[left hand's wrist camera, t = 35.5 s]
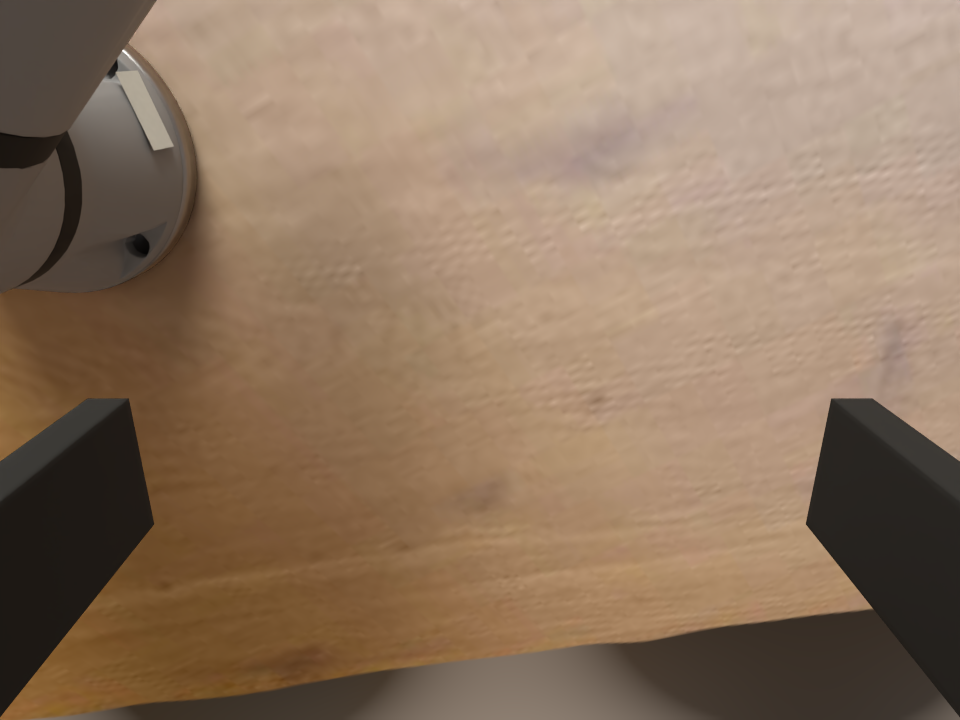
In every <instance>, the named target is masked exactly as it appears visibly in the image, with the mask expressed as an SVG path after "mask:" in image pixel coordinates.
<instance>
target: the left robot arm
mask: <svg viewBox="0 0 960 720" xmlns="http://www.w3.org/2000/svg"><path fill="white" fill-rule="evenodd" d="M155 2H156V0H0V294H1V293H3V292H6V291H8V290H10V289H13V288H16V289H27V290H39V291H51V292H67V293H79V292H91V291H98V290H102V289H106V288H110V287H113V286H116V285H118V284H121V283H123V282H126V281H128V280H130V279H132V278H134V277H136V276H138V275H140V274H142V273H144V272H146V271H147V270H149V269H150V268H152V267H154V266H155V265H156V264H157V263H159V262H160V261H161V260H162V259H163V258H164V257H165V256H166V255H167V254H168V253H169V252H170V251H171V250H172V249H173V247H174V246H175V245H176V243H177V242H178V241H179V239H180V237H181V236H182V234H183V232H184V230H185V228H186V226H187V224H188V221H189V219H190V215H191V212H192V209H193V205H194V200H195V194H196V183H197V176H196V160H195V153H194V148H193V143H192V139H191V136H190V132H189V129H188V126H187V124H186V121H185V118H184V116H183V114H182V112H181V109H180V107H179V105H178V103H177V101H176V100H175V98H174V96H173V95H172V93H171V91H170V89H169V88H168V87H167V85H166V84H165V82H164V81H163V79H162V78H161V77H160V75H159V74H158V73H157V72H156V71H155V69H154V68H153V67H152V66H151V65H150V64H149V63H148V62H147V61H146V60H145V59H144V58H143V57H142V56H141V55H140V54H139V53H138V52H137V51H136V50H135V49H134V48H132V47H131V46H130V45H129V44H128V42H129V40H130V39H131V37H132V36H133V34H134V33H135V32H136V30H137V29H138V27H139V26H140V24H141V23H142V21H143V20H144V18H145V17H146V15H147V14H148V12H149V11H150V9H151V8H152V6H153V5H154V3H155ZM153 525H154V521H153V516H152V511H151V506H150V501H149V496H148V491H147V487H146V482H145V477H144V472H143V467H142V462H141V457H140V452H139V447H138V442H137V437H136V432H135V427H134V422H133V417H132V413H131V408H130V403H129V399H86V400H85V401H84V402H82V403H81V404H79V405H78V406H77V407H75V408H74V409H73V410H71V411H70V412H68V413H67V414H66V415H64V416H63V417H61V418H60V419H59V420H57V421H56V422H54V423H53V424H52V425H50V426H49V427H48V428H46V429H45V430H43V431H42V432H41V433H39V434H38V435H36V436H35V437H34V438H32V439H31V440H30V441H28V442H27V443H25V444H24V445H23V446H21V447H20V448H18V449H17V450H16V451H14V452H13V453H11V454H10V455H9V456H7V457H6V458H5V459H3V460H2V461H0V717H1V715H2V714H3V713H4V712H5V710H6V709H7V708H8V707H9V705H10V704H11V703H12V702H13V700H14V699H15V698H16V697H17V695H18V694H19V693H20V692H21V690H22V689H23V688H24V687H25V685H26V684H27V683H28V682H29V680H30V679H31V678H32V677H33V675H34V674H35V673H36V672H37V670H38V669H39V668H40V667H41V665H42V664H43V663H44V661H45V660H46V659H47V658H48V656H49V655H50V654H51V653H52V651H53V650H54V649H55V648H56V646H57V645H58V644H59V643H60V641H61V640H62V639H63V638H64V636H65V635H66V634H67V633H68V631H69V630H70V629H71V628H72V626H73V625H74V624H75V623H76V621H77V620H78V619H79V618H80V616H81V615H82V614H83V613H84V611H85V610H86V609H87V608H88V606H89V605H90V604H91V603H92V601H93V600H94V599H95V598H96V596H97V595H98V594H99V593H100V591H101V590H102V589H103V588H104V586H105V585H106V584H107V583H108V581H109V580H110V579H111V578H112V576H113V575H114V574H115V573H116V571H117V570H118V569H119V568H120V566H121V565H122V564H123V562H124V561H125V560H126V559H127V557H128V556H129V555H130V554H131V552H132V551H133V550H134V549H135V547H136V546H137V545H138V544H139V542H140V541H141V540H142V539H143V537H144V536H145V535H146V534H147V532H148V531H149V530H150V529H151V527H152V526H153ZM806 525H807V526H808V527H809V529H810V530H811V531H812V532H813V534H814V535H815V536H816V537H817V539H818V540H819V541H820V542H821V544H822V545H823V546H824V547H825V549H826V550H827V551H828V552H829V554H830V555H831V556H832V557H833V559H834V560H835V561H836V562H837V564H838V565H839V566H840V568H841V569H842V570H843V571H844V573H845V574H846V575H847V576H848V578H849V579H850V580H851V581H852V583H853V584H854V585H855V586H856V588H857V589H858V590H859V591H860V593H861V594H862V595H863V596H864V598H865V599H866V600H867V601H868V603H869V604H870V605H871V606H872V608H873V609H874V610H875V611H876V613H877V614H878V615H879V616H880V618H881V619H882V620H883V621H884V623H885V624H886V625H887V626H888V628H889V629H890V630H891V631H892V633H893V634H894V635H895V636H896V638H897V639H898V640H899V641H900V643H901V644H902V645H903V646H904V648H905V649H906V650H907V651H908V653H909V654H910V655H911V656H912V658H913V659H914V660H915V661H916V663H917V664H918V665H919V666H920V668H921V669H922V670H923V671H924V673H925V674H926V675H927V677H928V678H929V679H930V680H931V682H932V683H933V684H934V685H935V687H936V688H937V689H938V690H939V692H940V693H941V694H942V695H943V697H944V698H945V699H946V700H947V702H948V703H949V704H950V705H951V707H952V708H953V709H954V710H955V712H956V713H957V714H958V715H959V717H960V461H958V460H957V459H955V458H954V457H953V456H951V455H950V454H949V453H947V452H946V451H944V450H943V449H942V448H940V447H939V446H937V445H936V444H935V443H933V442H932V441H930V440H929V439H928V438H926V437H925V436H924V435H922V434H921V433H919V432H918V431H917V430H915V429H914V428H912V427H911V426H910V425H908V424H907V423H906V422H904V421H903V420H901V419H900V418H899V417H897V416H896V415H894V414H893V413H892V412H890V411H889V410H887V409H886V408H885V407H883V406H882V405H881V404H879V403H878V402H876V401H875V400H874V399H831V403H830V408H829V413H828V417H827V422H826V427H825V432H824V437H823V442H822V447H821V452H820V457H819V462H818V467H817V472H816V477H815V482H814V487H813V491H812V496H811V501H810V506H809V511H808V516H807V521H806Z"/></svg>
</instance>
